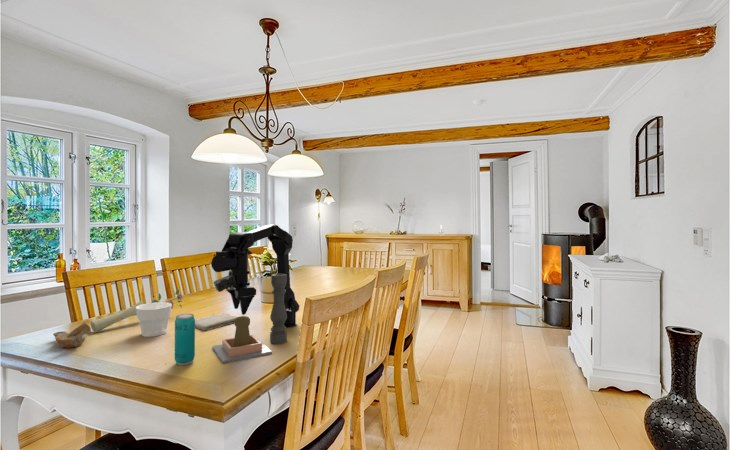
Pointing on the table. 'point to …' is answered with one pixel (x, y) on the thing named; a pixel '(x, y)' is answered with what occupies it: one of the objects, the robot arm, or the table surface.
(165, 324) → the cup
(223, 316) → the washcloth
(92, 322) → the flower vase
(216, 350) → the shaker socket
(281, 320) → the candle holder
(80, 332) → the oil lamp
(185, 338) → the beverage can
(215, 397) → the table surface
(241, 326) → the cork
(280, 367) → the table surface
